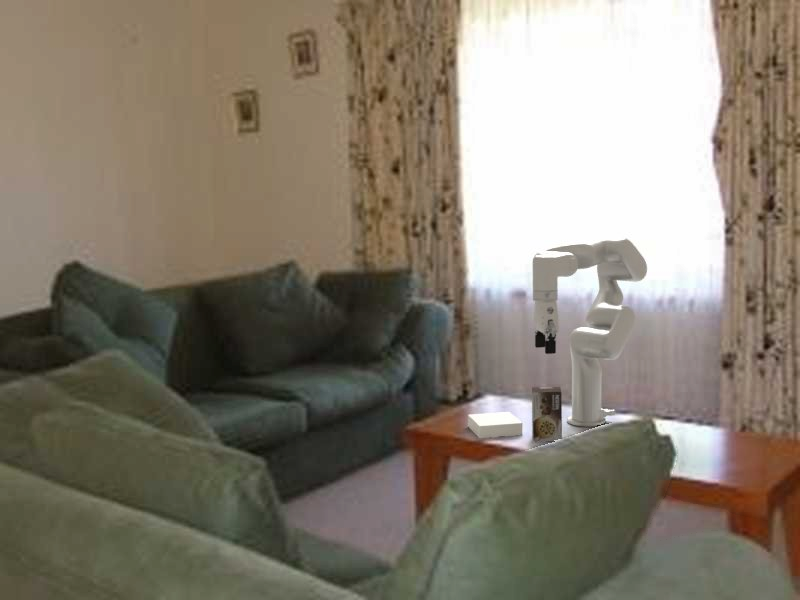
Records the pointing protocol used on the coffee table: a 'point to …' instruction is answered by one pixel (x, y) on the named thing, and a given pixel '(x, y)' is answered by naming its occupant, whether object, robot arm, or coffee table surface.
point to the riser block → (494, 424)
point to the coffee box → (546, 413)
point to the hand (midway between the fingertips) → (545, 350)
